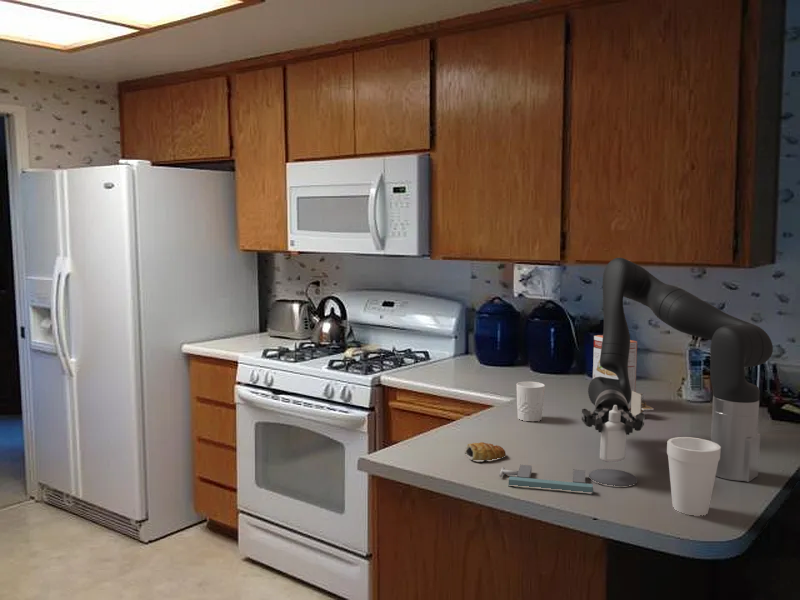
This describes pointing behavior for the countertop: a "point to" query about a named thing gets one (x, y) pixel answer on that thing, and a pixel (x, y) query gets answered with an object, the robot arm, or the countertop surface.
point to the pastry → (484, 451)
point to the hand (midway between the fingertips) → (614, 429)
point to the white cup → (530, 400)
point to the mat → (613, 477)
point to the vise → (525, 480)
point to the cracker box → (602, 372)
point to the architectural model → (638, 404)
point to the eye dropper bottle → (613, 438)
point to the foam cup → (692, 473)
